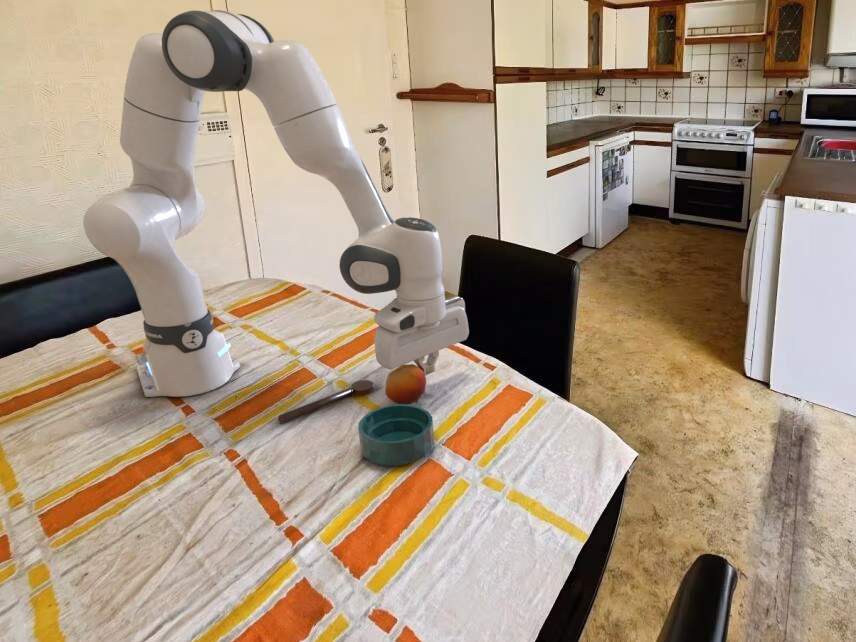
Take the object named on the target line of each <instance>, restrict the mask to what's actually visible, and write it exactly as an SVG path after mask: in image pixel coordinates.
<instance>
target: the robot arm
mask: <svg viewBox="0 0 856 642" xmlns="http://www.w3.org/2000/svg"><path fill="white" fill-rule="evenodd" d="M243 90H246V91H248V92H251V93H252V94H253V95H254V96H255V97H257V98H258V100H259V101H260V102H261V104H262V106H263V107H264V109H265V111H266V113H267V116H268V118H269V121H270V123H271V125H272V127H273V129H274V131H275V133H276V136H277V138H278V140H279V142H280V144H281V146H282V148H283V149H284V151H285V152H286V153H287V155H288V157H289V158H290V160H291V161H292V162H293V163H294V164H295V166H297V167H298V168H300V169H301V170H303V171H305V172H307V173H310V174H313V175H317V176H319V177H322V178H324V179H325V180H326V181H329V182H330V183H331V184H332V185H333V186H334V187H335V188H336V189H337V191H338V192H339V194H340V195H341V198H342V199H343V202H344V203H345V205H346V207H347V209H348V211H349V213H350V215H351V217H352V219H353V221H354V223H355V225H356V227H357V231H358V238H357V239H355V240H354V241H353V242H352V243H351V244H349V246H347V248H345V250H344V251H343V252H342V254H341V255H340V258H339V271H340V272H339V273H340V274H341V277H342V279H343V280H344V283H346V284H347V286H349V288H351V289H352V290H354V291H356V292H357V293H360V294H363V295H364V294H365V295H373V294H380V293H386V292H391V291H395V293H396V297H395V298H394V299H392V300H391V302H389V303H388V304H387V305H385V306H384V307H383V308H381V309H380V310H377V312H376V313H375V315H374V323H375V324H376V325H377V326H378V327H377V328H376V330H375V333H374V349H375V350H374V352H375V358H376V362H377V363H378V364H379V365H380V366H382V367H383V368H385V369H388V370H389V371H391V370H395V369H397V368H398V367H400V366H402V365H407V364H409V363H412V362H413V363H415V365H416V366H418V367H419V368H420V369H422V371H423V372H424V374H425V376H428V375H430V374H432V373H435V372H436V363H437V360H438V358H439V356H440V351H441V350H444V349H446V348H449V347H451V346H454V345H457V344H459V343H461V342H464V341H467V339H468V337H469V334H470V329H469V322H468V316H467V312H466V302H465V300H464V299H463V297H461V296H458V295H453V296H451V297H449V298H446V293H445V292H446V291H445V286H444V284H443V272H444V261H443V251H442V250H443V249H442V244H441V239H440V234H439V232H438V230H437V228H436V226H435V225H434V224H432V223H431V222H429V221H427V220H425V219H422V218H420V217H419V218H418V217H411V216H409V217H399V218H397V219H395V220H394V219H393V218H392V217H391V215H390V214H389V212H388V210H387V209H386V206H385V204H384V202H383V200H382V197H381V196H380V194H379V191H378V190H377V188H376V185H375V184H374V181H373V179H372V178H371V175H370V173H369V171H368V168H367V167H366V165H365V163H364V162H363V160H362V158H361V156H360V154H359V152H358V149H357V147H356V145H355V143H354V142H353V139H352V136H351V134H350V131H349V129H348V126H347V123H346V121H345V119H344V116H343V114H342V111H341V109H340V106H339V105H338V102H337V100H336V98H335V95H334V93H333V91H332V88H331V87H330V84H329V82H328V80H327V79H326V77H325V75H324V73H323V71H322V70H321V68H320V66H319V65H318V63H317V61H316V60H315V58H314V56H313V54H312V53H311V52H310V50H309V49H308V48H307V47H306V46H305V45H303V44H302V43H300V42H299V41H295V40H289V39H280V40H279V39H278V40H275V39H274V38H273V36H272V34H271V32H269V29H267V28H266V27H265V26H264V25H263V24H262V23H261V22H259V21H257V20H256V18H255V19H254V18H253V17H251V16H248V15H245V14H242V13H235V12H231V11H226V10H221V9H213V10H205V11H203V10H188V11H184V12H182V13H179V14H177V15H175V16H174V17H172V18H171V19H170V20H169V21H168V22H167V24H166V25H165V27H164V29H163V31H162V32H152V33H147V34H144V35H142V36H141V37H140V38H139V39H138V40H137V41H136V43H135V46H134V50H133V52H132V55H131V58H130V62H129V65H128V69H127V73H126V79H125V84H124V93H123V101H122V103H123V104H122V112H121V113H122V114H121V123H120V133H119V135H120V136H119V143H120V144H119V145H120V147H121V149H122V151H123V152H124V153H125V154H126V155H127V156H128V157H129V158H130V161H131V165H132V166H131V167H132V174H133V177H132V181H131V183H130V185H129V186H128V187H127V186H126V187H124V188H122V189H118V190H115V191H113V192H109V193H107V194H105V195H103V196H102V197H100V198H99V199H98V200H96V201H95V202H94V203H93V204H91V206H90V207H88V208H87V210H86V211H85V212H84V216H83V221H82V222H83V229H84V233H85V235H86V237H87V239H88V240H89V242H90V243H91V245H92V246H93V247H94V248H95V249H96V250H97V251H99V252H100V253H101V254H103V255H104V256H107V257H108V258H111V259H113V260H114V261H115V262H116V263H117V264H118V265H119V266H120V267H121V268H122V270H123V271H124V272H125V274H126V276H127V277H128V279H129V281H130V282H131V285H132V287H133V289H134V291H135V294H136V298H137V300H138V303H139V306H140V309H141V313H142V316H143V318H144V319H143V321H142V323H143V332H144V335H145V341H144V342H143V344H142V346H141V348H142V351H143V352H142V353H137V354H135V358H136V362H137V364H136V372H137V375H138V379H139V382H140V385H141V389H142V391H143V395H144V397H146V398H155V397H174V398H181V397H192V396H197V395H200V394H205V393H208V392H210V391H213V390H216V389H217V388H220V387H222V386H223V385H225V384H226V383H227V382H229V381H230V380H231V379H232V377H233V374H234V372H236V371H237V370H239V369H240V368H241V364H240V362H239V361H238V360H237V359H233V358H232V357H231V354H230V351H229V349H230V348H231V347H232V345H231V343H230V342H228V343H227V342H226V341H227V340H226V338H225V335H224V333H222V332H220V331H219V330H216V329H215V324H214V318H213V316H212V313H211V310H210V309H208V307H207V303H206V298H205V294H204V291H203V287H202V283H201V279H200V276H199V273H198V272H197V271H196V270H195V269H194V268H193V267H190V266H188V265H186V264H185V262H184V261H183V260H182V258H181V256H180V254H179V253H178V251H177V247H176V243H175V242H176V240H178V239H180V238H183V237H185V236H187V235H189V234H190V233H191V232H192V231H193V230H194V229H195V228H196V227H197V226H198V225H199V224H200V222H201V221H202V220H203V218H204V216H205V213H206V212H205V211H206V205H205V200H204V198H203V196H202V193H201V192H200V191H199V189H198V188H197V183H196V176H195V175H196V174H195V156H196V150H197V149H196V148H197V142H198V134H199V128H200V121H201V114H202V106H203V100H204V97H205V94H206V93H207V92H211V93H221V92H241V91H243ZM426 356H427V358H425V357H426ZM425 360H426V362H425Z"/></svg>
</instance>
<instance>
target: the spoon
mask: <svg viewBox="0 0 856 642" xmlns="http://www.w3.org/2000/svg"><path fill="white" fill-rule="evenodd" d="M374 391H375V384H374V382H373V381H372V380H368V379H361V380H356V381H354V382H353V383H351V385H350V387H347V388H345V389H343V390H340V391H337V392H334V393H332V394H329V395H327V396H325V397H321V398H319V399H317V400H314V401H312V402H309V403H306V404H304V405H302V406H299V407H296V408H294V409H292V410H289V411H286V412H284V413H281V414H279V415H278V417H277V421H278V422H279V423H280V424H285V423H288V422H289V421H290V422H291V421H292V420H294V419H297V418H299V417H302V416H304V415H307V414H310V413H312V412H315V411H317V410H320V409H322V408H324V407H327V406H329V405H332V404H334V403H336V402H337V403H338V402H340V401H341V400H344V399H346V398H349V397H352V396H353V395H355V396H359V397H361V396H362V397H363V396H368V395H371V394H372V393H373V392H374Z"/></svg>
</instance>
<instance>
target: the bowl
mask: <svg viewBox="0 0 856 642" xmlns="http://www.w3.org/2000/svg"><path fill="white" fill-rule="evenodd" d="M433 419H434V418H433V416H432V414H431V413H430V412H429V410H427V409H425V408H423V407H421V406H417V405H414V404H397V403H395V404H387V405H385V406H379V407H378V408H375V409H373V410H370V411H369V412H368V413H366V414H365V415H363V416H362V418H361V419H360V421H359V422H358V427H357V431H358V437H359V444H360V450H361V451H360V452H361V453H362V456H363V457H364V458H366V460H368V461H370V462H371V463H374V464H378V465H382V466H391V467H392V466H393V467H395V466H404V465H409V464H411V463H415V462H417V461H419V460H422V459H423V458H425V457H426V456H427V455H429V453H430V452H431V451H432V450H433V448H434V445H435V433H434V420H433Z"/></svg>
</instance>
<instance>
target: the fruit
mask: <svg viewBox="0 0 856 642" xmlns="http://www.w3.org/2000/svg"><path fill="white" fill-rule="evenodd" d="M426 386H427V377H426V375H425V374H424V372H423V371H422V369H420V368H419V367H418V366H417V365H416V364H414V363H410V364H409V363H407V364H404V365H401V366H399V367H396V368H394V369H393V370H392V371H390V372H389V373H388V375H387V377H386V381H385V395H386V396H387V398H388V399H389V400H390V401H392V402H393V403H394V404H408V405H414V404H417V405H419V401H420V399H421V398H422V396H424V395H425V396H428V394H427V393H426Z"/></svg>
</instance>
